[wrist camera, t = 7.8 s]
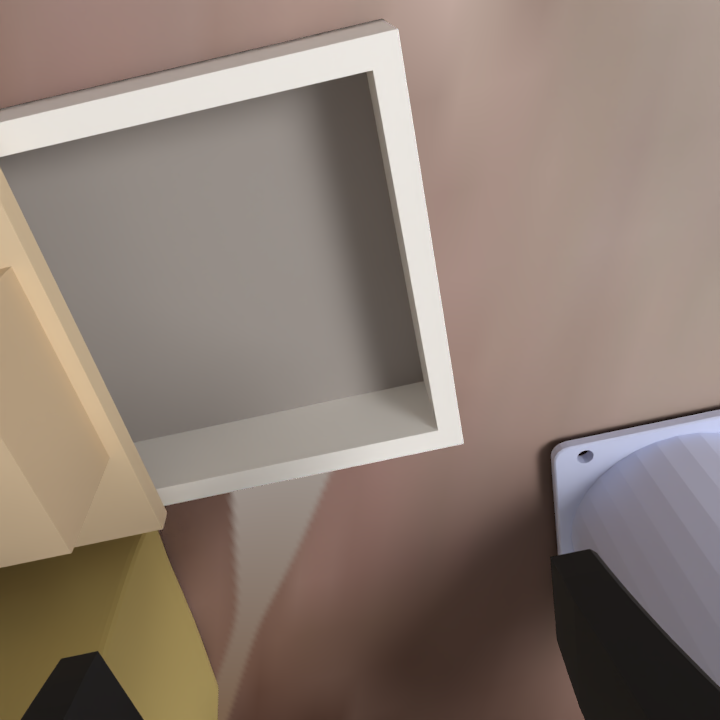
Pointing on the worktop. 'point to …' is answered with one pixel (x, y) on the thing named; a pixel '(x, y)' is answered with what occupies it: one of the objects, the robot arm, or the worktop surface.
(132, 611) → the cheese
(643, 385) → the worktop surface
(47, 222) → the box
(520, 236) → the worktop surface
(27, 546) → the lid
